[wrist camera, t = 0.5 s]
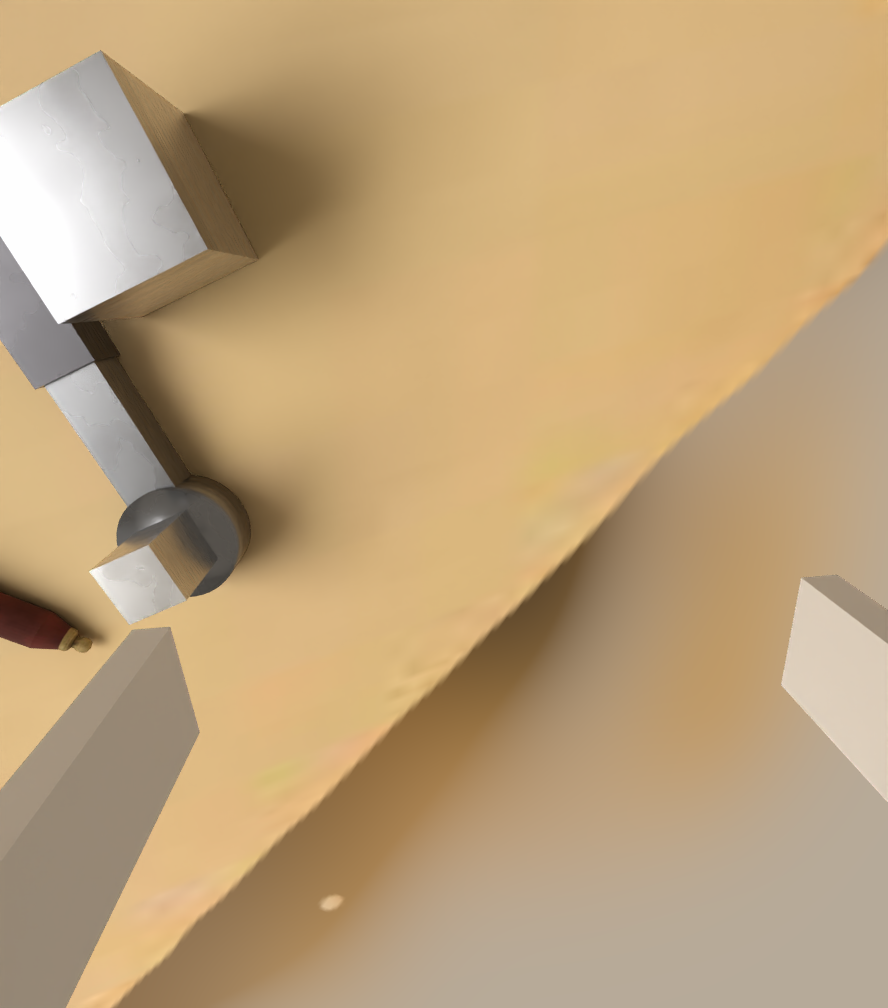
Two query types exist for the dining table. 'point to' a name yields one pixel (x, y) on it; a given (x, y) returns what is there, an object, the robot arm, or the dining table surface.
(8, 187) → the brushed metal cube
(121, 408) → the ratchet
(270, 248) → the dining table surface
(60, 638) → the gavel
